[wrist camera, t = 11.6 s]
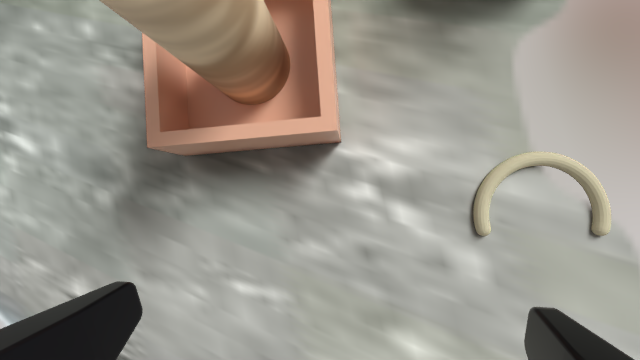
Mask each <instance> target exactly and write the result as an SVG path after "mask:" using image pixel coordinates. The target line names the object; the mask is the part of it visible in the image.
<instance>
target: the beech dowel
mask: <svg viewBox="0 0 640 360" xmlns="http://www.w3.org/2000/svg"><path fill="white" fill-rule="evenodd" d="M100 1H101V2H102V3H104V4H105V5H106V6H108V7H109V8H110V9H112V10H113V11H114V12H116V13H117V14H118V15H120V16H121V17H122V18H124V19H125V20H126V21H128V22H129V23H130V24H132V25H133V26H134V27H136V28H137V29H138V30H140V31H141V32H142V33H144V34H145V35H146V36H148V37H149V38H150V39H152V40H153V41H154V42H156V43H157V44H158V45H160V46H161V47H162V48H164V49H165V50H166V51H168V52H169V53H170V54H172V55H173V56H174V57H176V58H177V59H178V60H180V61H181V62H182V63H184V64H185V65H186V66H188V67H189V68H190V69H192V70H193V71H194V72H196V73H197V74H198V75H200V76H201V77H202V78H204V79H205V80H206V81H208V82H209V83H210V84H212V85H213V86H214V87H216V88H217V89H218V90H220V91H221V92H222V93H224V94H225V95H226V96H228V97H229V98H230V99H232V100H234V101H235V102H238V103H241V104H246V105H256V104H261V103H264V102H266V101H268V100H270V99H272V98H273V97H275V96H276V95H277V94H278V93H279V92H280V91H281V90H282V88H283V87H284V85H285V84H286V82H287V79H288V77H289V73H290V56H289V53H288V50H287V48H286V46H285V44H284V42H283V39H282V37H281V35H280V33H279V31H278V29H277V27H276V25H275V23H274V21H273V19H272V17H271V15H270V12H269V10H268V8H267V6H266V4H265V2H264V0H100Z"/></svg>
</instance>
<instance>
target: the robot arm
mask: <svg viewBox="0 0 640 360" xmlns="http://www.w3.org/2000/svg"><path fill="white" fill-rule="evenodd" d="M141 316H142V306H141V302H140V299H139V296H138V292H137V289H136V286H135V285H134V284H133V283H131V282H114V283H111V284H109V285H107V286H104V287H102V288H99V289H97V290H94V291H92V292H89V293H87V294H85V295H82V296H80V297H77V298H75V299H72V300H70V301H68V302H65V303H63V304H60V305H58V306H55V307H53V308H51V309H48V310H46V311H43V312H41V313H38V314H36V315H34V316H31V317H29V318H26V319H24V320H21V321H19V322H16V323H14V324H12V325H9V326H7V327H4V328H2V329H0V360H116V359H117V357H118V356H119V354H120V352H121V351H122V349H123V347H124V346H125V344H126V342H127V341H128V339H129V338H130V336H131V334H132V333H133V331H134V329H135V328H136V326H137V324H138V323H139V321H140V319H141ZM524 343H525V350H526V354H527V357H528V360H634V359H633V358H631V357H630V356H628V355H626V354H625V353H623V352H622V351H620V350H619V349H617V348H616V347H614V346H613V345H611V344H610V343H608V342H607V341H605V340H603V339H602V338H600V337H599V336H597V335H596V334H594V333H593V332H591V331H590V330H588V329H587V328H585V327H584V326H582V325H580V324H579V323H577V322H576V321H574V320H573V319H571V318H570V317H568V316H567V315H565V314H564V313H562V312H561V311H559V310H557V309H555V308H546V307H533V308H531V309H530V311H529V314H528V321H527V327H526V333H525V340H524Z"/></svg>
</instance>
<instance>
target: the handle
mask: <svg viewBox="0 0 640 360" xmlns="http://www.w3.org/2000/svg"><path fill="white" fill-rule="evenodd" d="M530 166H550V167H554V168H557V169H559V170H562V171H564V172H566V173H567V174H569V175H570V176H572V177H573V178H574V179H576V181H577V182H579V184H580V185H581V186H582V187H583V189H584V190H585V192H586V193H587V195H588V198H589V200H590V203H591V207H592V215H593V217H592V227H591V230H592V232H593V233H594V234H596V235H599V236H604V235H606V234H608V233H609V231H610V227H611V209H610V204H609V200H608V197H607V194H606V192H605V190H604V188H603V186H602V185H601V183H600V182H599V180H598V179H597V178H596V177H595V175H594V174H593V173H592V172H591V171H590V170H588V169H587V168H586V167H585V166H583V165H582V164H580V163H579V162H577V161H576V160H573V159H571V158H569V157H567V156H563V155H561V154H556V153H550V152H529V153H523V154H520V155H516V156H514V157H511V158H509V159H507V160H505V161H504V162H502V163H501V164H499V165H498V166H496V167H495V168H494V169H493V170H492V171H491V172H490V173H489V174H488V175H487V176H486V177H485V179H484V180H483V182H482V183H481V185H480V187H479V189H478V192H477V194H476V198H475V202H474V209H473V217H474V225H475V229H476V232H477V233H478V234H479V235H481V236H487V235H488V234H490V232H491V226H490V222H489V206H490V202H491V198H492V196H493V193H494V192H495V190H496V188H497V187H498V185H499V184H500V183H501V182H502V181H503V180H504V179H505V178H506V177H507V176H508V175H510V174H511V173H513V172H515V171H517V170H519V169H522V168H525V167H530Z"/></svg>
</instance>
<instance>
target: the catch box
mask: <svg viewBox="0 0 640 360" xmlns="http://www.w3.org/2000/svg"><path fill="white" fill-rule="evenodd" d="M264 2H265V4H266V6H267V8H268V10H269V12H270V15H271V17H272V19H273V21H274V23H275V25H276V27H277V29H278V31H279V33H280V35H281V37H282V39H283V42H284V44H285V46H286V48H287V50H288V53H289V56H290V73H289V77H288V79H287V82H286V84H285V85H284V87H283V88H282V90H281V91H280V92H279V93H278V94H277V95H276V96H275V97H273V98H272V99H270V100H268V101H266V102H264V103H261V104H256V105H246V104H241V103H238V102H235V101H234V100H232V99H230V98H229V97H228V96H226V95H225V94H224V93H222V92H221V91H220V90H218V89H217V88H216V87H214V86H213V85H212V84H210V83H209V82H208V81H206V80H205V79H204V78H202V77H201V76H200V75H198V74H197V73H196V72H194V71H193V70H192V69H190V68H189V67H188V66H186V65H185V64H184V63H182V62H181V61H180V60H178V59H177V58H176V57H174V56H173V55H172V54H170V53H169V52H168V51H166V50H165V49H164V48H162V47H161V46H160V45H158V44H157V43H156V42H154V41H153V40H152V39H150V38H149V37H148V36H146V35H145V34H144V33H142V40H143V63H144V86H145V109H146V131H147V148H151V149H156V150H160V151H165V152H170V153H174V154H179V155H184V156H189V155H201V154H212V153H224V152H235V151H247V150H258V149H270V148H281V147H293V146H304V145H315V144H327V143H338V142H341V134H340V121H339V107H338V93H337V80H336V66H335V52H334V39H333V25H332V11H331V0H264Z"/></svg>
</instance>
